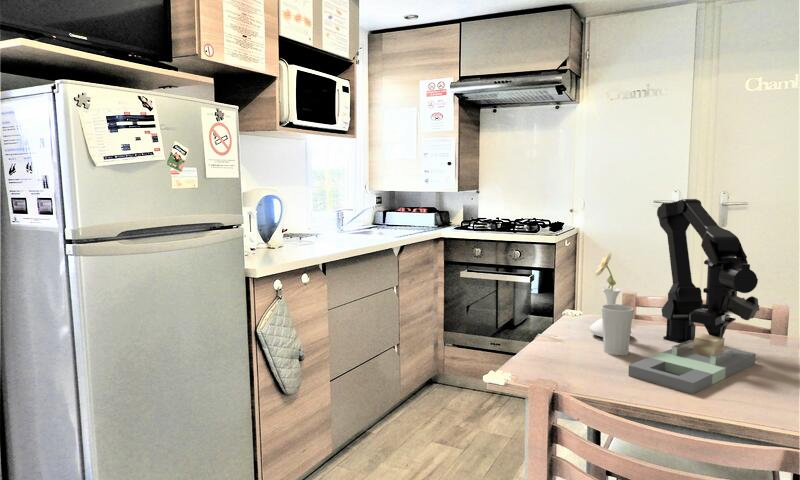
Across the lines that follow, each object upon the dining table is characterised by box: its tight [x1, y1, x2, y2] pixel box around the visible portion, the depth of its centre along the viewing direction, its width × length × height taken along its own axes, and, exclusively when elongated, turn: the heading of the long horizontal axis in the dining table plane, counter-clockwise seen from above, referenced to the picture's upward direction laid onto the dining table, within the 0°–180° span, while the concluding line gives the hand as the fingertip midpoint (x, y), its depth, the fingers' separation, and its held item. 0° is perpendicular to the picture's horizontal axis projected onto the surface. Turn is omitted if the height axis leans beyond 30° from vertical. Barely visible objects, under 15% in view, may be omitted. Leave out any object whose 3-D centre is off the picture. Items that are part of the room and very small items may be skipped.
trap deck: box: [628, 346, 757, 395], centre depth 142 cm, size 15×32×2 cm, turn 128°
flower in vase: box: [589, 251, 632, 338], centre depth 168 cm, size 13×11×25 cm
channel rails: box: [671, 340, 734, 365], centre depth 144 cm, size 10×9×2 cm
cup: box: [600, 303, 635, 356], centre depth 155 cm, size 8×8×12 cm
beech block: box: [693, 333, 725, 357], centre depth 146 cm, size 5×5×4 cm
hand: (716, 345), depth 148 cm, fingers closed
